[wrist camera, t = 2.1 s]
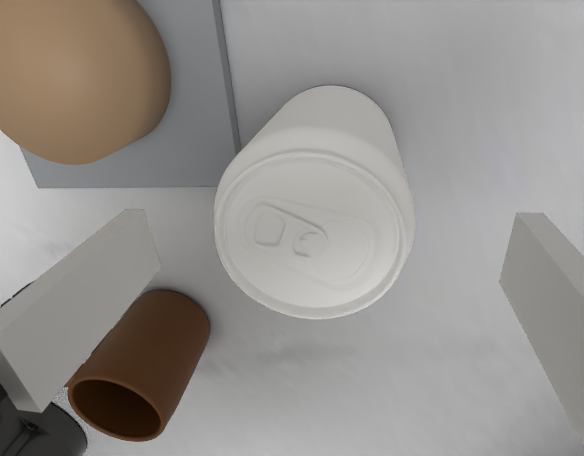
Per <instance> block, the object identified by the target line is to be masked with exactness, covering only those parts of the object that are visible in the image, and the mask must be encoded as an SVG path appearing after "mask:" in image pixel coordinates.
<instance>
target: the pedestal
mask: <svg viewBox="0 0 584 456" xmlns="http://www.w3.org/2000/svg"><path fill="white" fill-rule="evenodd" d="M0 130H1V131H2V132H3V133H4V134H5V135H7V136H8V137H9V138H10V139H11V140H13V141H14V142H15V143H17V144H18V145H19V146H20V149H21V151H22V153H23V155H24V158H25V160H26V162H27V165H28V167H29V169H30V171H31V174H32V176H33V178H34V180H35V183H36V185H37V187H38V188H124V187H218V185H219V183H220V180H221V178H222V176H223V174H224V172H225V170H226V169H227V167H228V166H229V164H230V163H231V162H232V160H233V159H234V158H235V157H236V156H237V155H238V154H239V152H240V151H241V147H240V140H239V133H238V126H237V119H236V113H235V106H234V99H233V92H232V85H231V78H230V72H229V65H228V58H227V51H226V44H225V37H224V31H223V24H222V17H221V10H220V3H219V0H0Z"/></svg>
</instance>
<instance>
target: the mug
mask: <svg viewBox="0 0 584 456" xmlns="http://www.w3.org/2000/svg"><path fill="white" fill-rule="evenodd" d="M209 334H210V327H209V322H208V319H207V317H206V315H205V313H204V312H203V311H202V309H201V308H200V307H199V306H198V305H197V304H196V303H195V302H193V301H192V300H190V299H189V298H187V297H185V296H183V295H181V294H178V293H176V292H172V291H165V290H158V291H152V292H149V293H146V294H144V295H142V296H141V297H140V298H138V299H137V300H136V301H135V302H134V303H133V305H132V306H131V307H130V308H129V309H128V310H127V312H126V313H125V314H124V316H123V317H122V318H121V319H120V320H119V321H118V323H117V324H116V325H115V326H114V327H113V329H111V330H110V331H109V332H108V333H107V334H106V336H105V337H104V338H103V339H102V340H101V342H100V343H99V344H98V345H97V347H96V348H95V349H94V350H93V351H92V353H91V356H90V357H89V358H88V359H87V361H86V362H85V363H84V364H82V365H81V366H80V367H79V368H78V370H77V371H76V372H75V373H74V374H73V376H72V377H71V378H70V379H69V380H68V382H67V383H66V384H65V385H64V387H69V389H68V400H69V402H70V404H71V406H72V408H73V409H74V411H75V412H76V413H77V414H78V415H79V417H81V418H82V419H83V420H84V421H85V422H86V423H88V424H89V425H90V426H92V427H93V428H95V429H97V430H98V431H100V432H102V433H104V434H107V435H109V436H112V437H115V438H118V439H121V440H126V441H134V442H142V441H148V440H152V439H154V438H156V437H157V436H159V435H160V434H161V433H162V432H163V430H164V429H165V427H166V425H167V423H168V421H169V420H170V418H171V416H172V415H173V413H174V411H175V409H176V408H177V406H178V404H179V402H180V400H181V397H182V395H183V393H184V391H185V389H186V387H187V385H188V383H189V381H190V379H191V377H192V374H193V372H194V370H195V368H196V366H197V364H198V361H199V359H200V357H201V355H202V353H203V351H204V349H205V346H206V344H207V342H208V338H209Z"/></svg>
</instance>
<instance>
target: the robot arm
mask: <svg viewBox="0 0 584 456" xmlns="http://www.w3.org/2000/svg"><path fill="white" fill-rule="evenodd" d="M160 269H161V265H160V262H159V259H158V255H157V252H156V249H155V245H154V242H153V239H152V236H151V232H150V229H149V226H148V223H147V219H146V216H145V213H144V210H143V209H125V210H124V211H123V212H122V213H120V214H119V215H118V216H117V217H115V218H114V219H113V220H112V221H110V222H109V223H108V224H106V225H105V226H104V227H103V228H101V229H100V230H99V231H98V232H96V233H95V234H94V235H92V236H91V237H90V238H89V239H87V240H86V241H85V242H84V243H82V244H81V245H80V246H78V247H77V248H76V249H75V250H73V251H72V252H71V253H70V254H68V255H67V256H66V257H65V258H63V259H62V260H61V261H59V262H58V263H57V264H56V265H54V266H53V267H52V268H51V269H49V270H48V271H47V272H45V273H44V274H43V275H42V276H40V277H39V278H38V279H37V280H35V281H33V282H32V283H30V284H28V285H26V286H25V287H24V288H22V289H21V290H20V291H19V292H17V293H16V294H15V295H13V298H12V299H8V300H7V301H6V302H4V303H3V304H2V305H1V307H0V456H82V455H83V453H84V452H85V450H86V446H87V443H86V439H85V436H84V434H83V432H82V430H81V429H80V428H79V426H78V425H77V424H76V423H75V422H74V421H73V420H72V419H71V418H70V417H69V416H68V415H67V414H65V413H64V412H63V411H61V410H60V409H59V408H57V407H56V406H54V405H52V404H51V403H50V402H51V401H52V400H53V399H54V397H55V396H56V395H57V394H58V393H59V391H60V390H61V389H62V388H63V387H64V385H65V384H66V383H67V382H68V380H69V379H70V378H71V377H72V376H73V374H74V373H75V372H76V371H77V370H78V368H79V367H80V366H81V365H82V364H83V362H84V361H85V360H86V359H87V357H88V356H89V355H90V354H91V353H92V351H93V350H94V349H95V348H96V347H97V345H98V344H99V343H100V342H101V340H102V339H103V338H104V337H105V336H106V334H107V333H108V332H109V331H110V330H111V328H112V327H113V326H114V325H115V324H116V322H117V321H118V320H119V319H120V317H121V316H122V315H123V314H124V313H125V311H126V310H127V309H128V308H129V307H130V305H131V304H132V303H133V302H134V300H135V299H136V298H137V297H138V296H139V294H140V293H141V292H142V291H143V290H144V288H145V287H146V286H147V285H148V283H149V282H150V281H151V280H152V279H153V277H154V276H155V275H156V274H157V273H158V271H159V270H160ZM499 283H500V284H501V286H502V288H503V290H504V292H505V294H506V296H507V298H508V300H509V302H510V304H511V306H512V308H513V310H514V312H515V314H516V316H517V318H518V320H519V321H520V323H521V325H522V327H523V329H524V331H525V333H526V335H527V337H528V339H529V341H530V343H531V345H532V347H533V349H534V351H535V353H536V355H537V356H538V358H539V360H540V362H541V364H542V366H543V368H544V370H545V372H546V374H547V376H548V378H549V380H550V382H551V384H552V386H553V388H554V390H555V392H556V393H557V395H558V397H559V399H560V401H561V403H562V405H563V407H564V409H565V411H566V413H567V415H568V417H569V419H570V421H571V423H572V425H573V427H574V428H575V430H576V432H577V434H578V436H579V438H580V440H581V442H582V444H583V446H584V256H583V255H582V254H581V253H580V252H579V251H578V250H577V249H576V248H575V247H574V246H573V244H572V243H571V242H570V241H569V240H568V239H567V238H566V237H565V236H564V235H563V234H562V233H561V232H560V230H559V229H558V228H557V227H556V226H555V225H554V224H553V223H552V222H551V221H550V220H549V219H548V218H547V216H546V215H545V214H544V213H516V216H515V220H514V224H513V228H512V232H511V236H510V240H509V244H508V248H507V252H506V256H505V260H504V264H503V268H502V272H501V276H500V280H499Z"/></svg>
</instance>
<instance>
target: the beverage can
mask: <svg viewBox="0 0 584 456" xmlns="http://www.w3.org/2000/svg"><path fill="white" fill-rule="evenodd" d="M415 232H416V210H415V204H414V200H413V196H412V193H411V190H410V186H409V183H408V180H407V177H406V173H405V170H404V167H403V164H402V161H401V157H400V154H399V151H398V148H397V144H396V141H395V138H394V135H393V131H392V128H391V126H390V123H389V121H388V119H387V117H386V116H385V114H384V113H383V111H382V110H381V109H380V107H379V106H378V105H377V104H376V103H375V102H374V101H372V100H371V99H370V98H368V97H367V96H365V95H364V94H362V93H360V92H358V91H356V90H353V89H350V88H347V87H342V86H333V85H328V86H319V87H315V88H311V89H308V90H306V91H303V92H301V93H299V94H298V95H296V96H294V97H293V98H292V99H290V100H289V101H288V102H287V103H286V104H285V105H284V106H283V107H282V108H281V109H280V110H279V111H278V112H277V113H276V114H275V115H274V116H273V117H272V118H271V119H270V120H269V122H268V123H267V124H266V125H265V126H264V127H263V128H262V129H261V130H260V131H259V132H258V133H257V134H256V135H255V136H254V138H253V139H252V140H251V141H250V142H249V143H248V144H247V145H246V146H245V147H244V148H243V149H242V150H241V151H240V152H239V154H238V155H237V156H236V157H235V158H234V159H233V160H232V162H231V163H230V164H229V166H228V167H227V169H226V170H225V172H224V174H223V176H222V178H221V180H220V183H219V185H218V188H217V192H216V196H215V202H214V239H215V245H216V249H217V252H218V255H219V258H220V260H221V263H222V265H223V266H224V268H225V270H226V272H227V273H228V275H229V276H230V277H231V279H232V280H233V281H234V282H235V283H236V285H237V286H238V287H239V288H240V289H241V290H242V291H243V292H245V293H246V294H247V295H248V296H250V297H251V298H252V299H254V300H255V301H257V302H258V303H260V304H262V305H263V306H265V307H267V308H269V309H272V310H274V311H276V312H279V313H282V314H285V315H289V316H293V317H298V318H304V319H331V318H337V317H342V316H346V315H349V314H352V313H355V312H357V311H360V310H362V309H364V308H366V307H368V306H369V305H371V304H373V303H374V302H375V301H377V300H378V299H379V298H380V297H382V296H383V295H384V294H385V293H386V292H387V291H388V290H389V289H390V287H391V286H392V285H393V283H394V282H395V280H396V279H397V277H398V275H399V273H400V271H401V269H402V267H403V265H404V264H405V262H406V260H407V258H408V256H409V254H410V251H411V249H412V246H413V242H414V238H415Z"/></svg>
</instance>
